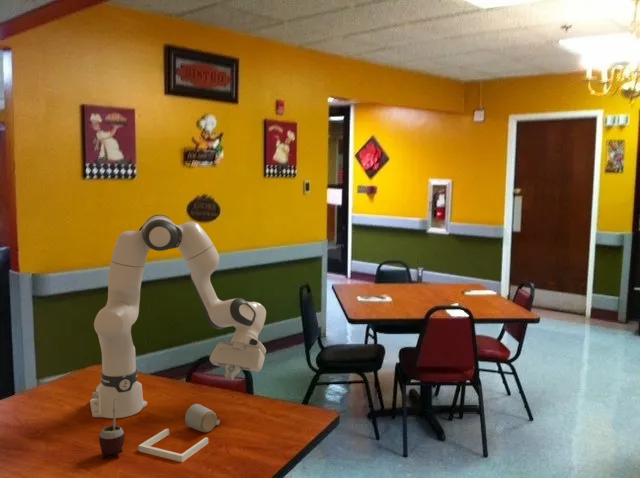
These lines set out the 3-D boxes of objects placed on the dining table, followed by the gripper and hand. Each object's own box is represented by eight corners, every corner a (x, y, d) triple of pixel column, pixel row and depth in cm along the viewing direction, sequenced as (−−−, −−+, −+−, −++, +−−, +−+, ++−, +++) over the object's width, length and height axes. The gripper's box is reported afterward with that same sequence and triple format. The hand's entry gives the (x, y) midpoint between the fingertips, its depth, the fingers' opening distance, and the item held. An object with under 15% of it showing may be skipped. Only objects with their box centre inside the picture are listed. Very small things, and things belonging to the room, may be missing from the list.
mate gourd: (107, 463, 166) (106, 413, 165) (93, 454, 171) (92, 405, 170) (131, 454, 172) (129, 405, 170) (116, 446, 177) (115, 398, 175)
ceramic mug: (201, 436, 184) (201, 413, 183) (184, 430, 188) (184, 407, 188) (225, 426, 192) (225, 403, 191) (208, 419, 197) (208, 397, 196)
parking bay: (138, 451, 174) (138, 445, 173) (166, 433, 185) (166, 428, 185) (182, 462, 167) (182, 456, 167) (208, 443, 179) (208, 437, 179)
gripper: (215, 336, 213) (200, 370, 205) (264, 342, 205) (250, 378, 197) (222, 344, 217) (207, 378, 209) (270, 351, 209) (257, 386, 201)
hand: (228, 378), depth 203 cm, fingers closed
